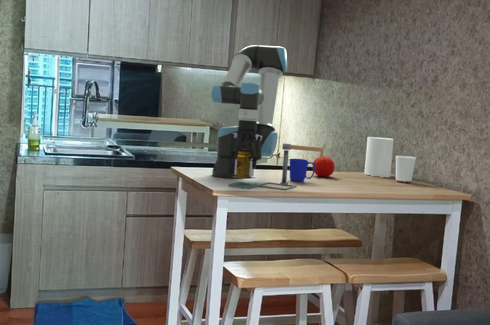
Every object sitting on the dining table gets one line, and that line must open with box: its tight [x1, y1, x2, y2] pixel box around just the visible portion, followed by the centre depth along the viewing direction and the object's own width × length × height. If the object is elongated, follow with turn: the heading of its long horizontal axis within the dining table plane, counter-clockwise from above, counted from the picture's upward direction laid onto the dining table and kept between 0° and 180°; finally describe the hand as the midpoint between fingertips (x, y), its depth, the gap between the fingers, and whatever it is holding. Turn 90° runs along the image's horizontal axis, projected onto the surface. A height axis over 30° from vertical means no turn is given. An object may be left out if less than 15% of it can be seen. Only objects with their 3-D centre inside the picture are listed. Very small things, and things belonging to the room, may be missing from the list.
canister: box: [364, 136, 394, 178], centre depth 354 cm, size 14×14×20 cm
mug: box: [289, 158, 316, 183], centre depth 307 cm, size 8×12×10 cm
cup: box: [395, 155, 417, 184], centre depth 333 cm, size 10×10×13 cm
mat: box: [227, 181, 259, 190], centre depth 278 cm, size 9×10×1 cm
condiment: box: [234, 149, 256, 180], centre depth 277 cm, size 7×8×12 cm
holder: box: [257, 181, 298, 191], centre depth 285 cm, size 14×14×1 cm
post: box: [279, 149, 290, 185], centre depth 292 cm, size 4×4×15 cm
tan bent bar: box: [281, 142, 325, 157], centre depth 290 cm, size 4×18×4 cm, turn 76°
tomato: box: [311, 156, 335, 178], centre depth 333 cm, size 11×13×10 cm
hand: (243, 175), depth 278 cm, fingers closed on condiment, 6 cm apart
